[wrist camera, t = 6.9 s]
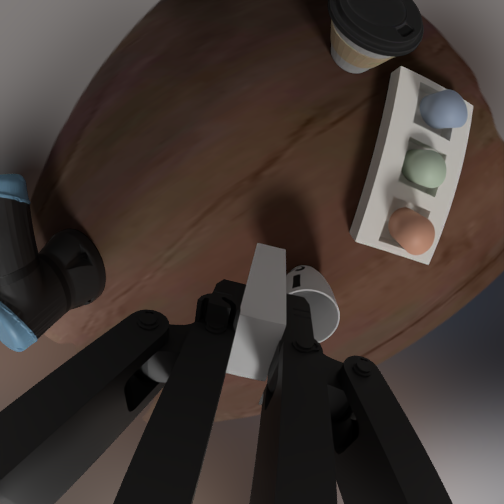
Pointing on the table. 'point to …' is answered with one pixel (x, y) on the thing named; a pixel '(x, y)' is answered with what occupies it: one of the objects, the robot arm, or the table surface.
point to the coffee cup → (372, 31)
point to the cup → (315, 299)
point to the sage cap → (424, 167)
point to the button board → (391, 161)
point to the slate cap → (444, 110)
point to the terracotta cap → (411, 230)
